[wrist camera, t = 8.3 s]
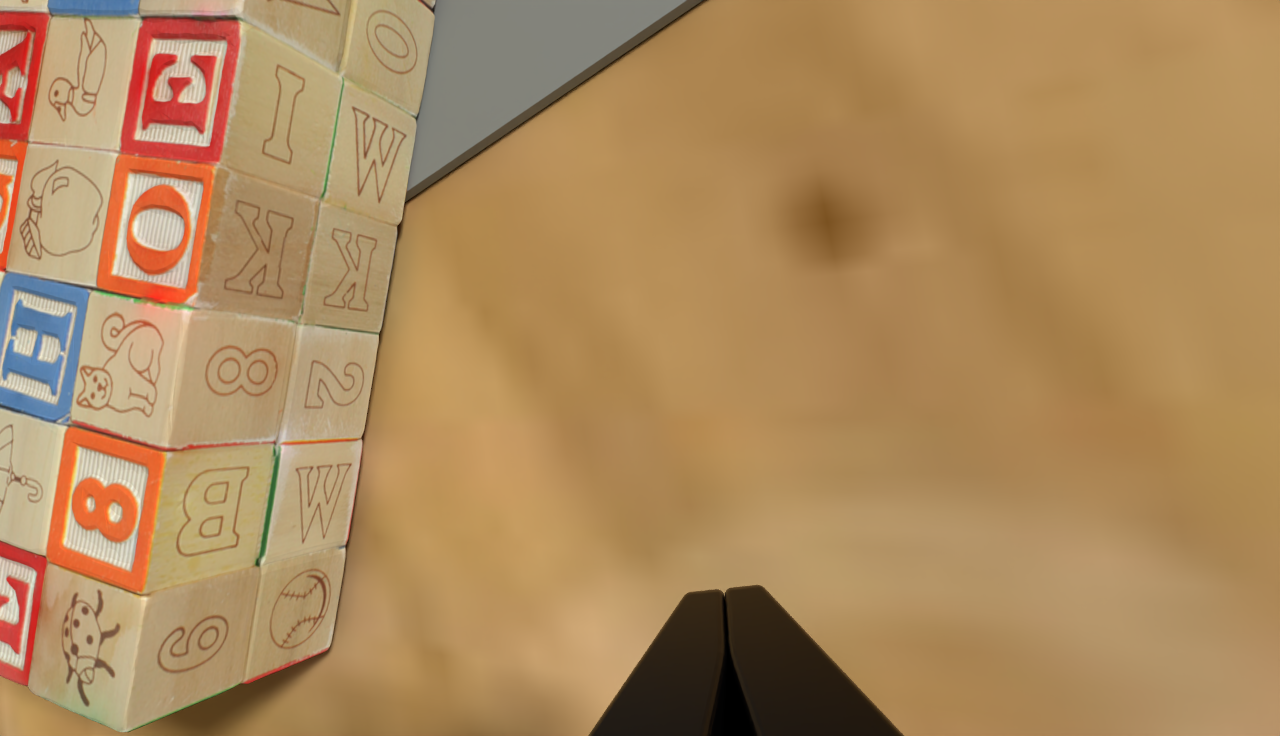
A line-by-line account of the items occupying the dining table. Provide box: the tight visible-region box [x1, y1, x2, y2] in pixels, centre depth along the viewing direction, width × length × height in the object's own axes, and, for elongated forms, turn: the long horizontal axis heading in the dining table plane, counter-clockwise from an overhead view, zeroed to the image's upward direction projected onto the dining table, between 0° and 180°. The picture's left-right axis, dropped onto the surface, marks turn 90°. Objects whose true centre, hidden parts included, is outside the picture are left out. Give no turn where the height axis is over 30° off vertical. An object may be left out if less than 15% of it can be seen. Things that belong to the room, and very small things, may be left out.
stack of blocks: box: [0, 0, 436, 732], centre depth 21 cm, size 21×6×12 cm
